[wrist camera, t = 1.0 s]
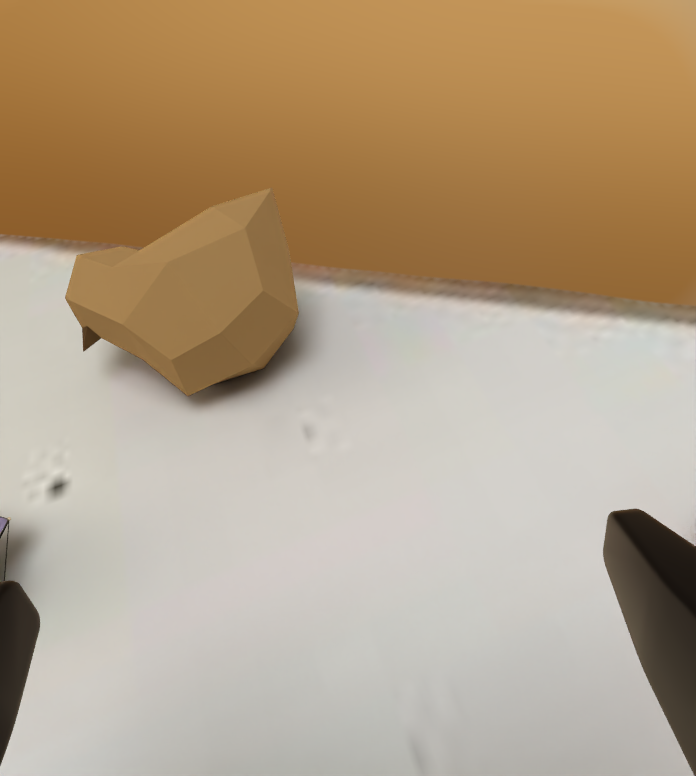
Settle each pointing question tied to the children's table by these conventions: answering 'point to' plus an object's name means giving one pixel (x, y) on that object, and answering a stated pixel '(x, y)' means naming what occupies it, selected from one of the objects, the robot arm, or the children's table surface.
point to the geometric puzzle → (1, 524)
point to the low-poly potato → (194, 294)
